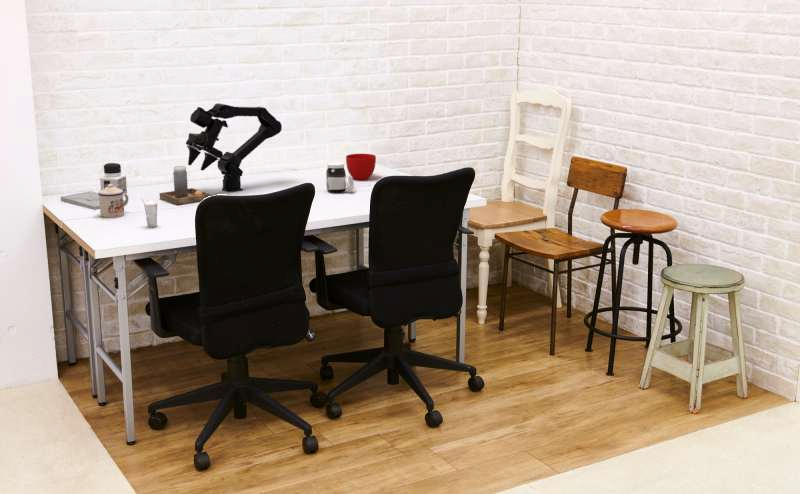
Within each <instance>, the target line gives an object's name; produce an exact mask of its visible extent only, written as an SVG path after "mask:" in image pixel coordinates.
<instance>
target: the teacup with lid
mask: <svg viewBox="0 0 800 494" xmlns="http://www.w3.org/2000/svg"><path fill="white" fill-rule="evenodd" d="M97 193H98V195H99V202H100V209H99V210H100V211H99V214H100V216H101V217H102V218H108V219H109V218H110V219H111V218H118V217H122V216H124V215H125V207H126V206H127V205H128V203H129V195H128V194H125V193H124V192H123V190H121V189H118V188H116V187H113V184H108V187H106V188H104V189H103V190H101V189H100V190H98V192H97ZM124 198H125V199H124ZM123 200H125V203H124V202H123Z"/></svg>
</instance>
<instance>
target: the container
mask: <svg viewBox="0 0 800 494" xmlns="http://www.w3.org/2000/svg"><path fill="white" fill-rule="evenodd" d="M103 172H104V176H102V177H100V178H99V182H100V190H103V189H104V188H106V187H108V184H113V187H116V188H118V189H121V190H123V192H124V193H125V194H127V193H128V188H127V186H128V185H127V175H126V174H122V166H121V164H120V163H119V162H118V163H117V162H108V163H105V164H103ZM127 195H128V194H127Z"/></svg>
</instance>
